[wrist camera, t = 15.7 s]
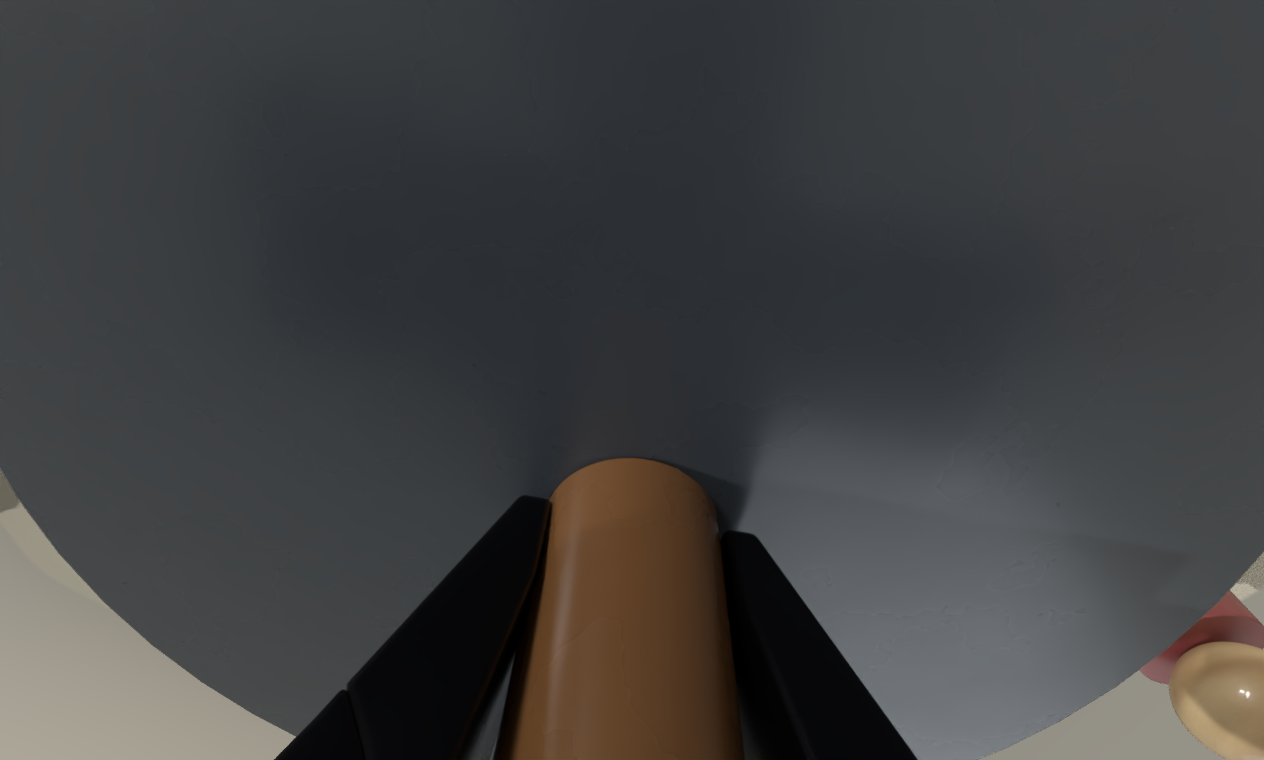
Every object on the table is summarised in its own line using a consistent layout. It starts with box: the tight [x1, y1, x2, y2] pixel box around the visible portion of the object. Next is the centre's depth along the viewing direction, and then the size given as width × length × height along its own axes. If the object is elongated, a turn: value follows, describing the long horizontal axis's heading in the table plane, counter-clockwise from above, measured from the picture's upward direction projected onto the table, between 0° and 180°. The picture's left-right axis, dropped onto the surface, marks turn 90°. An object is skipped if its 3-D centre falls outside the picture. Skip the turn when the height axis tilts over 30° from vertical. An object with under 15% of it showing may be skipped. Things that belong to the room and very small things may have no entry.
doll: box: [1139, 590, 1264, 760], centre depth 19 cm, size 4×4×10 cm
